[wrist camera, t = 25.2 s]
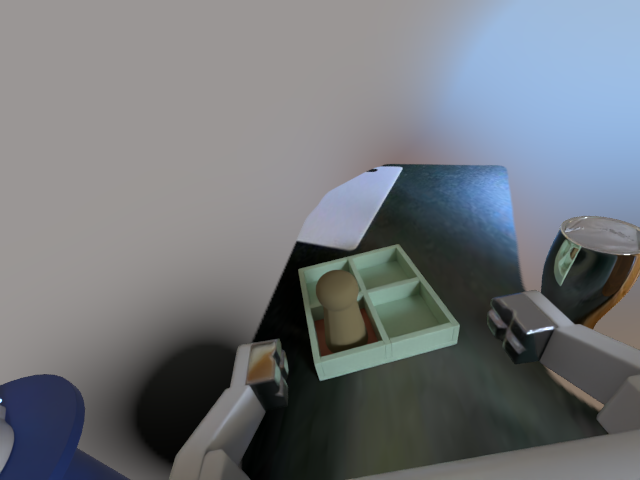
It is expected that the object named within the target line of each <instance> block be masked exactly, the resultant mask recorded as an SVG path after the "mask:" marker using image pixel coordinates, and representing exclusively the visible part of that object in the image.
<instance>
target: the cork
mask: <svg viewBox="0 0 640 480" xmlns="http://www.w3.org/2000/svg"><path fill="white" fill-rule="evenodd" d="M358 293H359V287H358V283H357V281H356V279H355V278H354V276H353V275H352V274H350V273H349V272H347V271H344V270H332V271H329V272H326V273H325V274H323V275H322V276H321V277H320V278H319V280H318V282H317V284H316V296H317V298H318V300H319V302H320V304H321V305H322V306H323V310H324V326H325V342H326V345H327V347H328V349H329V350H330V351H331V352H332V353H337V352H341V351H345V350H348V349H352V348H356V347H360V346H363V345H366V344H367V342H368V333H367V329H366V326H365V323H364V320H363V317H362V315H361V312H360V309H359V306H358V303H357V297H358Z"/></svg>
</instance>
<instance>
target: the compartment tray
mask: <svg viewBox="0 0 640 480" xmlns="http://www.w3.org/2000/svg"><path fill="white" fill-rule="evenodd" d="M332 270H344V271H347V272H349V273H350V274H352V275H353V276H354V278H355V279H356V281H357V283H358V287H359V293H358V297H357V303H358V306H359V309H360V312H361V315H362V317H363V320H364V323H365V326H366V329H367V333H368V342H367V344H366V345H363V346H360V347H356V348H352V349H348V350H345V351H341V352H337V353H332V352H331V351H330V350H329V349H328V347H327V345H326V342H325V326H324V310H323V306H322V305H321V304H320V302H319V300H318V298H317V296H316V284H317V282H318V280H319V278H320V277H321V276H322V275H323V274H325V273H326V272H329V271H332ZM298 271H299V277H300V283H301V289H302V295H303V301H304V307H305V312H306V318H307V324H308V330H309V336H310V342H311V348H312V354H313V359H314V365H315V368H316V371H317V374H318V377H319V380H320V381H322V380H326V379H329V378H333V377H337V376H340V375H344V374H348V373H351V372H355V371H359V370H362V369H366V368H370V367H373V366H377V365H381V364H384V363H388V362H392V361H396V360H399V359H403V358H407V357H410V356H414V355H418V354H421V353H425V352H429V351H432V350H436V349H440V348H443V347H447V346H451V345H454V344H457V339H458V334H459V328H460V325H459V323H458V322H457V321H456V320H455V318H454V317H453V316H452V314H451V313H450V312H449V310H448V309H447V308H446V306H445V305H444V304H443V302H442V301H441V300H440V298H439V297H438V296H437V294H436V293H435V292H434V290H433V289H432V288H431V286H430V285H429V284H428V282H427V281H426V280H425V278H424V277H423V276H422V274H421V273H420V272H419V270H418V269H417V268H416V266H415V265H414V264H413V262H412V261H411V260H410V258H409V257H408V256H407V254H406V253H405V252H404V250H403V249H402V248H401V246H400V245H399V244H397V245H393V246H389V247H385V248H381V249H377V250H373V251H369V252H365V253H361V254H357V255H353V256H349V257H345V258H341V259H337V260H333V261H329V262H325V263H321V264H317V265H313V266H309V267H305V268H301V269H298Z"/></svg>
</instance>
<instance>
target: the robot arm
mask: <svg viewBox="0 0 640 480" xmlns="http://www.w3.org/2000/svg"><path fill="white" fill-rule="evenodd" d="M490 306H491V307H492V309H491V310H490V311H489V312H488V314H487V323H488V327H489V329H490V331H491V332H492V334H493V335H494V337H495V338H497V339H499V340H501V341H502V342H503V349H504V350H505V352H506V353H507V354H508V356H509V357H510V358H511V360H512V361H513V362H514V364H521V363H528V362H534V361H539V362H540V363H542V364H543V365H545V366H546V367H548V368H549V369H551V370H552V371H554V372H555V373H557V374H558V375H560V376H561V377H563V378H564V379H566V380H567V381H569V382H570V383H572V384H573V385H575V386H576V387H578V388H580V389H581V390H583V391H584V392H586V393H587V394H589V395H590V396H592V397H593V398H595V399H597V400H598V401H599V402H601V403H602V404H604V405H605V406H604V407H603V408H602V409H601V411H600V412H599V413H598V414H597V420H598V422H599V423H600V424H601V425H602V426H603V428H604V429H605V430H606V431H607V432H608V434H607V435H601V436H596V437H590V438H584V439H578V440H573V441H567V442H561V443H555V444H550V445H544V446H538V447H532V448H526V449H521V450H515V451H509V452H503V453H498V454H492V455H486V456H480V457H475V458H469V459H463V460H457V461H452V462H446V463H440V464H434V465H428V466H423V467H417V468H411V469H405V470H400V471H394V472H388V473H382V474H377V475H371V476H365V477H359V478H354V479H348V480H640V350H638V349H636V348H634V347H631V346H629V345H627V344H625V343H622V342H620V341H618V340H615V339H613V338H610V337H608V336H606V335H604V334H601V333H599V332H597V331H595V330H592V329H590V328H588V327H585V326H583V325H581V324H574V323H573V322H572V321H570V320H569V319H568V318H567V317H566V316H565V315H564V314H563V313H562V312H561V311H560V310H559V309H558V308H556V307H555V306H554V305H553V304H552V303H551V302H550V301H549V300H548V299H547V298H546V297H545V296H544V295H542V294H541V293H540V292H539V291H537V290H531V291H526V292H521V293H514V294H509V295H504V296H499V297H495V298H493V299H492V300H491V302H490ZM287 377H288V363H287V357H286V354H285V351H284V350H282V349H281V342H280V340H279V339H274V340H268V341H262V342H256V343H250V344H245V345H240V346H239V347H238V350H237V354H236V359H235V364H234V370H233V375H232V380H231V385H230V388H229V389H226V390H225V391H224V393H223V394H222V395H221V397H220V398H219V399H218V400H217V402H216V403H215V404H214V406H213V407H212V409H211V410H210V411H209V412H208V414H207V415H206V416H205V418H204V419H203V420H202V422H201V423H200V424H199V426H198V427H197V428H196V430H195V431H194V433H193V434H192V435H191V436H190V438H189V439H188V440H187V442H186V443H185V445H184V446H183V447H182V448H181V450H180V451H179V452H178V454H177V455H176V458H175V461H174V464H173V468H172V471H171V474H170V478H169V480H250V479H249V477H248V476H247V475H246V474H245V473H244V472H243V471H242V470H241V469H240V468H239V467H238V465H239V463H240V461H241V459H242V457H243V455H244V453H245V451H246V449H247V447H248V445H249V443H250V441H251V439H252V437H253V435H254V433H255V431H256V430H257V428H258V426H259V424H260V422H261V420H262V418H263V416H264V414H265V410H270V409H275V408H279V407H284V406H288V386H287V384H286V382H285V380H286V378H287ZM1 401H2V400H1V399H0V402H1ZM5 415H6V408H5V407H4V406H2V405H0V473H1V471H2V469H3V468H4V466H5V464H6V462H7V460H8V458H9V456H10V453H11V451H12V447H13V443H14V431H13V429H12V427H11V426H10V425H9V424H7V423H6V421H5Z"/></svg>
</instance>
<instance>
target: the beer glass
mask: <svg viewBox="0 0 640 480" xmlns="http://www.w3.org/2000/svg"><path fill="white" fill-rule="evenodd" d="M639 274H640V228H639V227H637V226H635V225H633V224H630V223H627V222H624V221H621V220H617V219H612V218H606V217H597V216H581V217H575V218H571V219H568V220H566V221H564V222H563V223H562V225H561V227H560V230H559V232H558V233H557V235H556V237H555V239H554V241H553V243H552V245H551V247H550V250H549V252H548V255H547V258H546V261H545V265H544V269H543V275H542V286H541V294H542V295H544V296H545V297H546V298H547V299H548V300H549V301H550V302H551V303H552V304H553V305H554V306H555V307H556V308H558V309H559V310H560V311H561V312H562V313H563V314H564V315H565V316H566V317H567V318H568V319H569V320H570V321H572V322H573V323H574V324H581V325H583V326H585V327H588V328H590V329H592V330H593V328H594V326H595V324H596V323H597V322H598V320H600V319H601V318H602V317H603V316H604V315H605V314H606V313H607V312H608V311H609V310H610V309H612V308H613V307H614V306H615V305H616V304H617V303H618V302H619V301H620V300H621V299H622V298H623V297H624V296H625V295H626V294H627V293H628V292H629V290H630V289H631V287H632V286H633V285H634V283H635V282H636V280H637V278H638V276H639Z"/></svg>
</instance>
